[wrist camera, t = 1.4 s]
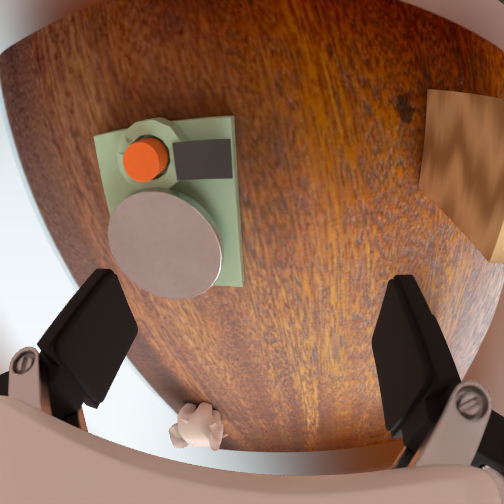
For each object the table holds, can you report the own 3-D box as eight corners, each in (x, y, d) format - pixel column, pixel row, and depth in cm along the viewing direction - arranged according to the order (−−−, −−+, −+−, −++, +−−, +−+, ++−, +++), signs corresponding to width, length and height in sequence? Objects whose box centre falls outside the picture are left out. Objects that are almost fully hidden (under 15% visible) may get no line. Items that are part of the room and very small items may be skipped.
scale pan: (93, 154, 21) (87, 157, 20) (230, 138, 19) (227, 140, 18) (129, 288, 28) (125, 294, 27) (242, 297, 27) (240, 304, 26)
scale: (100, 127, 22) (81, 134, 20) (234, 108, 20) (226, 111, 18) (133, 271, 31) (122, 287, 28) (244, 278, 29) (240, 297, 27)
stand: (426, 88, 17) (522, 103, 7) (500, 112, 16) (590, 147, 6) (417, 187, 22) (489, 263, 12) (487, 198, 20) (559, 264, 10)
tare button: (131, 140, 20) (119, 144, 19) (165, 135, 20) (156, 139, 18) (136, 176, 22) (126, 183, 20) (170, 174, 21) (162, 180, 20)
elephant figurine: (203, 423, 52) (194, 459, 44) (168, 396, 47) (155, 436, 39) (242, 422, 49) (235, 461, 41) (209, 394, 44) (198, 439, 36)
